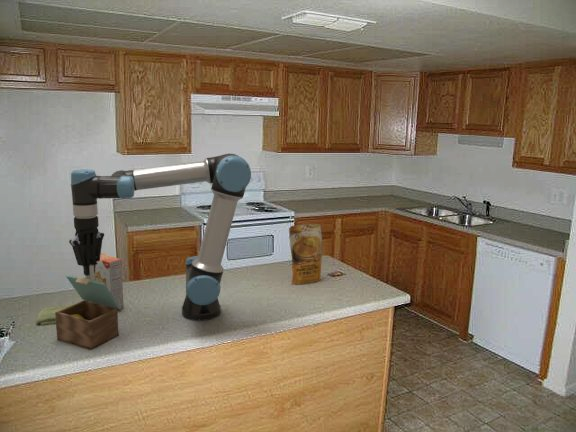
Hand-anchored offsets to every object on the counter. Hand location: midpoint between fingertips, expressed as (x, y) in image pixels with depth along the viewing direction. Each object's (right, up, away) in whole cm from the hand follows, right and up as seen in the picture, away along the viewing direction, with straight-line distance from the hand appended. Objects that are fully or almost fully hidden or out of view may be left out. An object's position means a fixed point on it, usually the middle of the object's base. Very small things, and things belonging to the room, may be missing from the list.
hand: (90, 283), depth 161 cm
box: (-1, -19, +2) cm, 19 cm away
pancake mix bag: (+76, -9, +64) cm, 100 cm away
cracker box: (-5, -14, +28) cm, 32 cm away
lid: (0, -4, 0) cm, 4 cm away
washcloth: (-18, -16, +18) cm, 30 cm away
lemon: (-2, -18, +1) cm, 18 cm away
